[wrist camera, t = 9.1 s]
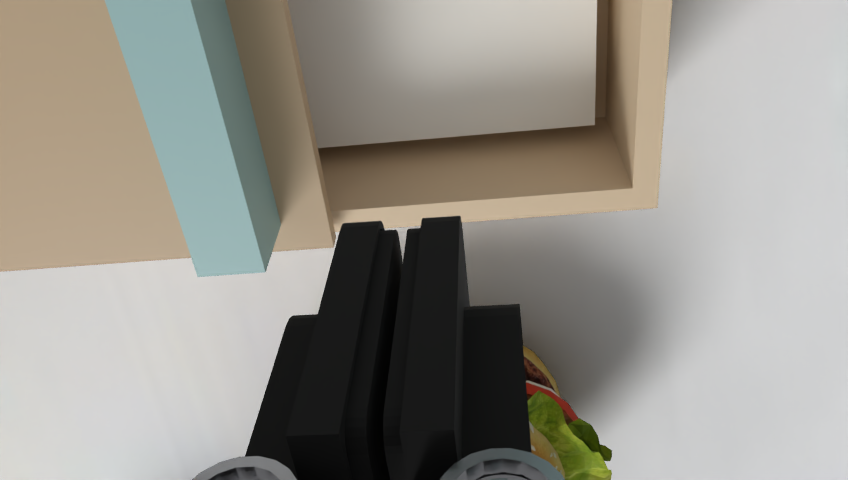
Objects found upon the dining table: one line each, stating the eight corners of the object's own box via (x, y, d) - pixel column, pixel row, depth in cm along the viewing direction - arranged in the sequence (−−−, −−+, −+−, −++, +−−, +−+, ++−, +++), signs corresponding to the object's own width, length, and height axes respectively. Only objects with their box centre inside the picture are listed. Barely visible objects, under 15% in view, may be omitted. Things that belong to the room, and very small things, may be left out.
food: (425, 529, 44) (420, 672, 38) (251, 385, 38) (209, 526, 32) (640, 432, 39) (678, 578, 33) (480, 249, 33) (488, 382, 27)
